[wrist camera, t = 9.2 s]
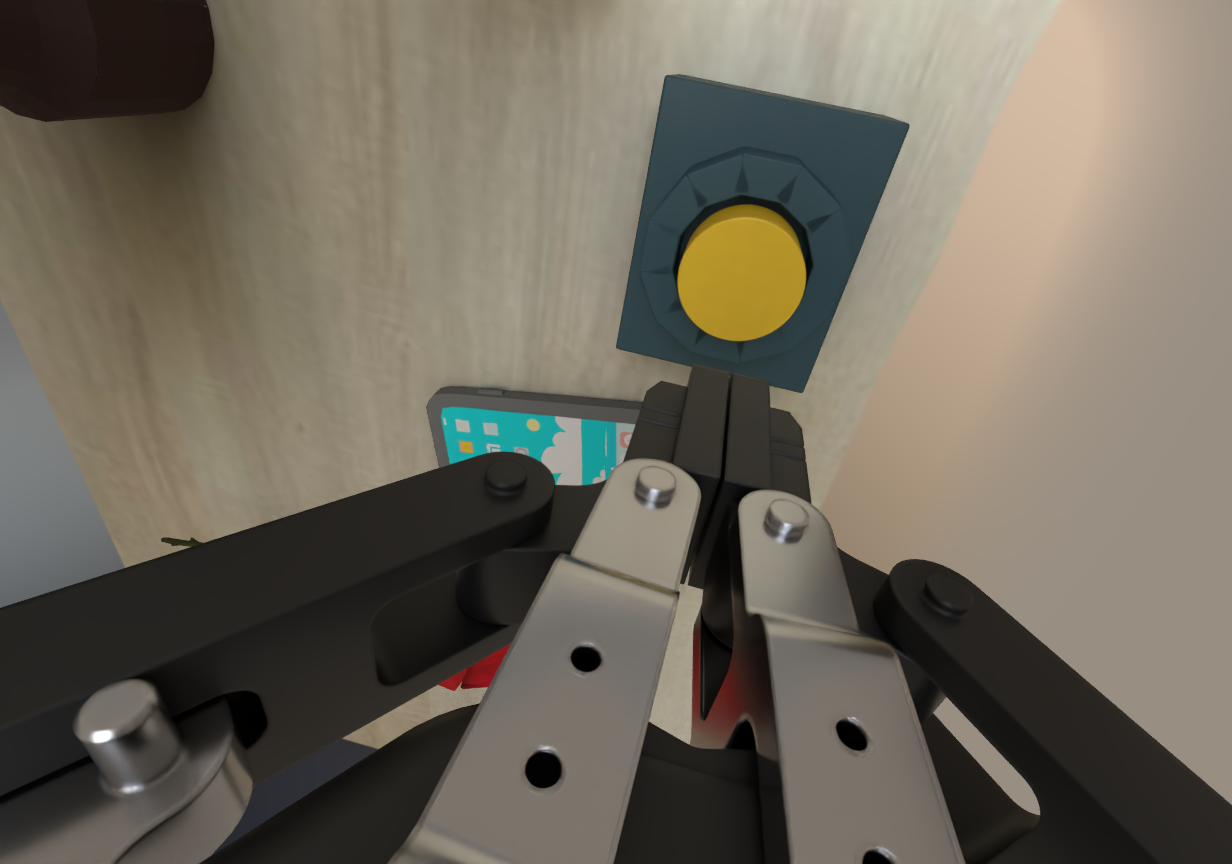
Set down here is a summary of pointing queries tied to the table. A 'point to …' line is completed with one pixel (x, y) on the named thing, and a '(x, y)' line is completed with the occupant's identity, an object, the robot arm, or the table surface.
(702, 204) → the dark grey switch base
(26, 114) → the lantern
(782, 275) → the button
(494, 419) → the smartphone
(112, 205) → the table surface
